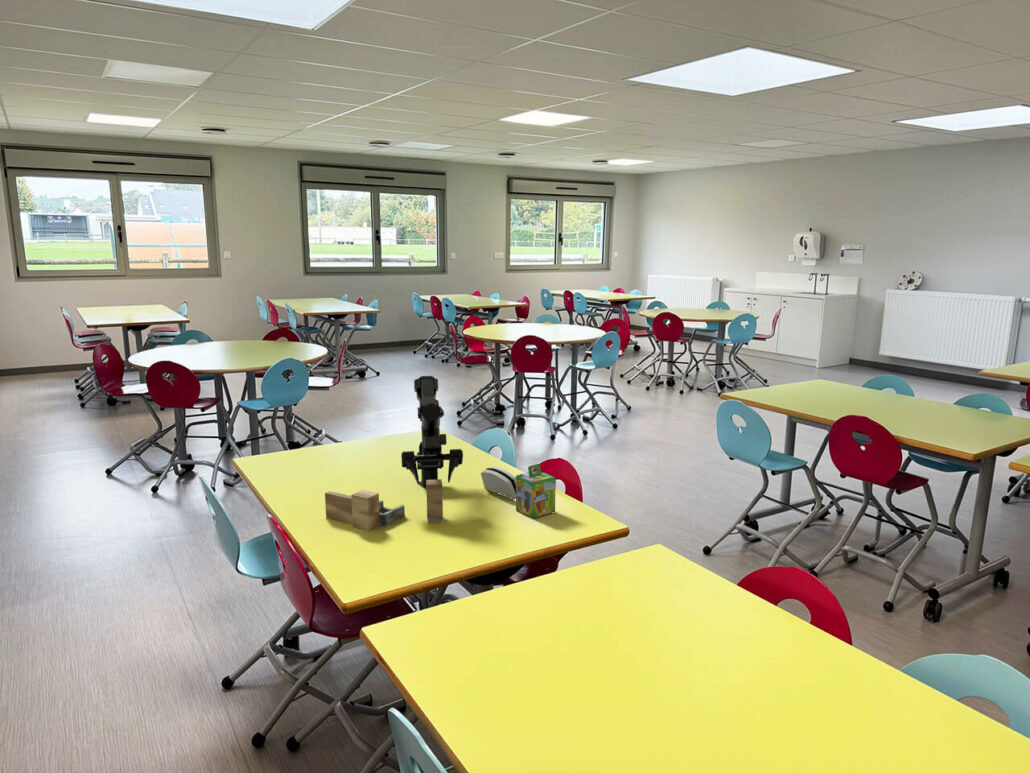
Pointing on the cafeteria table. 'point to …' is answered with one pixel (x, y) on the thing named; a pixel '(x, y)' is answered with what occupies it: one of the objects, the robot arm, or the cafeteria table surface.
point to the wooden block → (434, 501)
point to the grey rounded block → (499, 481)
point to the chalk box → (535, 492)
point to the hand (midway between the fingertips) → (433, 482)
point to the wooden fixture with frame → (361, 510)
